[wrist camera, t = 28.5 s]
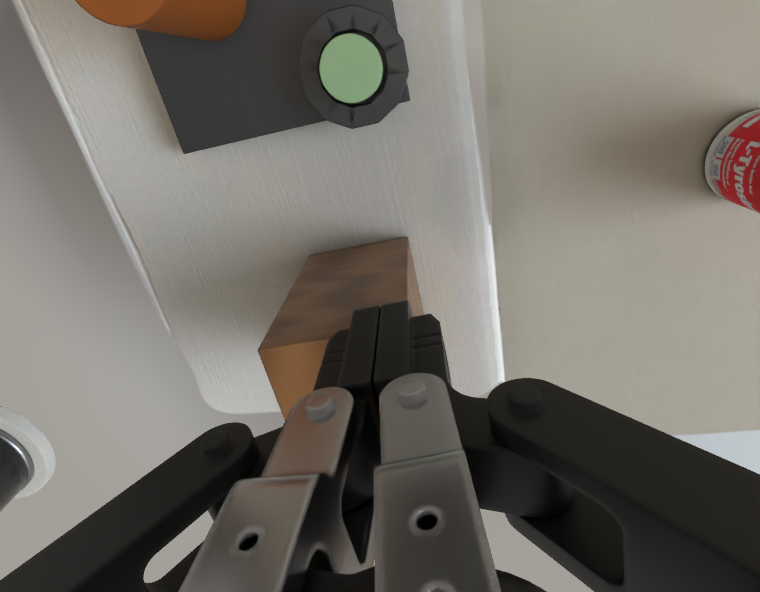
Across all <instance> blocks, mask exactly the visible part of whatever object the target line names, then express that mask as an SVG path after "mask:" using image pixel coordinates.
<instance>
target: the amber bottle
mask: <svg viewBox="0 0 760 592" xmlns="http://www.w3.org/2000/svg"><path fill="white" fill-rule="evenodd" d="M75 1H76V2H77V3H78V4H79V5H80V6H81V7H82V8H83V9H84V10H85V11H87V12H88V13H89V14H91V15H92V16H94V17H95V18H97V19H99V20H101V21H103V22H106V23H108V24H112V25H115V26H121V27H127V28H133V29H139V30H145V31H151V32H157V33H163V34H169V35H175V36H181V37H187V38H194V39H200V40H206V41H218V40H222V39H225V38H227V37H228V36H230V35H231V34H233V33H234V32H235V31H236V30H237V28H238V27H239V26H240V24H241V22H242V20H243V17H244V15H245V11H246V3H247V0H75Z"/></svg>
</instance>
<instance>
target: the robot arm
mask: <svg viewBox="0 0 760 592" xmlns="http://www.w3.org/2000/svg"><path fill="white" fill-rule="evenodd" d="M324 354H325V355H324V356H323V360H322V365H321V366H320V370H319V373H318V376H317V380H316V383H315V386H314V390H313V392H311V393H309V394H307V395H305V396H303V397H302V398H301V399H299V400H298V401H297V402H296V403H295V404H294V405H293V407H292V408H291V410H290V412H289V414H288V416H287V419H286V421H285V423H284V425H283V427H281V428H278V429H276V430H273V431H271V432H268V433H266V434H263V435H260V436H258V437H255V438H254V437H253V435H252V432H251V430H250V428H249V427H248V426H247V425H245V424H243V423H227V424H223V425H220V426H217V427H215V428H212V429H210V430H209V431H207V432H205V433H204V434H202V435H201V436H199V437H198V438H196V439H195V440H194V441H192V442H191V443H190V444H188V445H187V446H185V447H184V448H183V449H181V450H180V451H179V452H177V453H176V454H174V455H173V456H172V457H170V458H169V459H167V460H166V461H165V462H163V463H162V464H160V465H159V466H158V467H156V468H155V469H154V470H152V471H151V472H149V473H148V474H147V475H145V476H144V477H142V478H141V479H140V480H138V481H137V482H136V483H135V484H133V485H131V486H130V487H129V488H127V489H126V490H125V491H123V492H122V493H120V494H119V495H118V496H117V497H115V498H114V499H112V500H111V501H110V502H108V503H107V504H105V505H104V506H102V507H101V508H100V509H98V510H97V511H96V512H94V513H93V514H91V515H90V516H89V517H87V518H86V519H84V520H83V521H82V522H80V523H79V524H78V525H76V526H75V527H74V528H72V529H71V530H69V531H68V532H67V533H65V534H64V535H63V536H61V537H60V538H58V539H57V540H55V541H54V542H53V543H51V544H50V545H49V546H47V547H46V548H44V549H43V550H42V551H40V552H39V553H37V554H36V555H35V556H33V557H32V558H31V559H29V560H28V561H26V562H25V563H24V564H22V565H21V566H20V567H18V568H17V569H15V570H14V571H13V572H11V573H10V574H9V575H7V576H6V577H4V578H3V579H2V580H0V592H546V591H545V590H543V589H541V588H540V587H538V586H536V585H534V584H532V583H531V582H529V581H527V580H524V579H522V578H520V577H517V576H515V575H513V574H510V573H507V572H503V571H500V570H496V569H495V566H494V562H493V559H492V555H491V551H490V547H489V543H488V539H487V536H486V532H485V528H484V524H483V520H482V517H481V513H480V509H479V508H481V509H486V510H492V511H497V512H503V513H505V515H506V517H507V519H508V521H509V523H510V524H511V525H512V526H513V527H514V528H515V529H516V530H517V531H518V532H520V533H521V534H522V535H524V536H525V537H526V538H527V539H529V540H530V541H531V542H532V543H534V544H535V545H536V546H538V547H539V548H540V549H541V550H542V551H544V552H545V553H547V554H548V555H549V556H550V557H551V558H553V559H554V560H555V561H557V562H558V563H559V564H560V565H562V566H563V567H564V568H565V569H567V570H568V571H569V572H570V573H572V574H573V575H574V576H575V577H577V578H578V579H579V580H581V581H582V582H583V583H584V584H586V585H587V586H588V587H590V588H591V589H592V590H593V591H594V592H760V474H757V473H755V472H753V471H751V470H748V469H746V468H744V467H741V466H739V465H737V464H734V463H732V462H730V461H728V460H725V459H723V458H721V457H719V456H716V455H714V454H712V453H709V452H707V451H705V450H703V449H700V448H698V447H696V446H693V445H691V444H689V443H687V442H684V441H682V440H680V439H677V438H675V437H673V436H671V435H668V434H666V433H664V432H661V431H659V430H657V429H655V428H652V427H650V426H648V425H645V424H643V423H641V422H639V421H636V420H634V419H632V418H630V417H627V416H625V415H623V414H620V413H618V412H616V411H614V410H611V409H609V408H607V407H604V406H602V405H600V404H598V403H595V402H593V401H591V400H588V399H586V398H584V397H582V396H579V395H577V394H575V393H572V392H570V391H568V390H566V389H563V388H561V387H559V386H556V385H554V384H552V383H549V382H547V381H544V380H540V379H533V378H521V379H514V380H510V381H507V382H504V383H502V384H500V385H499V386H497V387H496V388H494V389H493V390H492V391H491V393H490V394H489V396H488V398H487V399H485V398H475V397H469V396H466V395H463V394H461V393H459V392H457V391H456V390H454V389H453V388H452V385H451V378H450V371H449V366H448V361H447V356H446V351H445V346H444V341H443V336H442V331H441V327H440V322H439V321H438V320H437V319H436V318H435V317H434V316H432V315H431V314H426V315H420V316H415V317H413V314H412V310H411V306H410V302H409V300H404V301H398V302H393V303H388V304H382V306H381V305H377V306H372V307H367V308H361V309H356V310H354V311H353V315H352V320H351V324H350V328H349V329H344V330H338V331H337V332H336V333H335V334H334V336H333V337H332V338H331V339H330V340H329V341H328V343H327V346H326V349H325V353H324ZM33 476H34V463H33V460H32V458H31V456H30V454H29V453H28V451H27V450H26V448H25V447H24V446H23V445H22V444H21V443H20V442H19V441H18V440H17V439H15V438H14V437H13V436H11V435H10V434H8V433H7V432H5V431H3V430H2V429H0V512H1V511H2V510H3V509H4V508H5V507H6V505H7V504H8V503H9V502H10V501H11V500H12V499H13V498H14V497H15V496H16V495H17V494H18V493H19V492H20V491H21V490H23V489H24V488H25V487H26V486H27V485H28V483H29V482H30V481H31V480H32V478H33ZM207 510H208V511H209V513H210V515H211V517H212V519H213V521H214V523H213V525H212V527H211V529H210V531H209V532H208V534H207V536H206V539H205V540H204V541H203V542H202V543H201V544H200V545H199V546H197V547H196V548H195V549H194V550H193V551H192V552H191V553H190V554H189V555H187V556H186V557H185V558H184V559H183V560H182V561H181V562H179V563H178V564H177V565H176V566H175V567H174V568H173V569H172V570H171V571H170V572H168V573H167V574H166V575H165V576H164V577H162V578H161V579H159V580H158V581H155V582H152V583H144V580H143V575H144V570H145V568H146V566H147V564H148V562H149V561H150V560H151V558H152V557H153V556H154V555H155V554H156V553H157V552H159V551H160V550H161V549H162V548H163V547H164V546H166V545H167V544H168V543H169V542H170V541H171V540H173V539H174V538H175V537H176V536H177V535H179V534H180V533H181V532H182V531H183V530H184V529H186V528H187V527H188V526H189V525H190V524H192V523H193V522H194V521H195V520H196V519H198V518H199V517H200V516H201V515H202V514H203V513H204V512H206V511H207ZM374 559H375V566H374ZM373 566H374V567H373Z"/></svg>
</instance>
